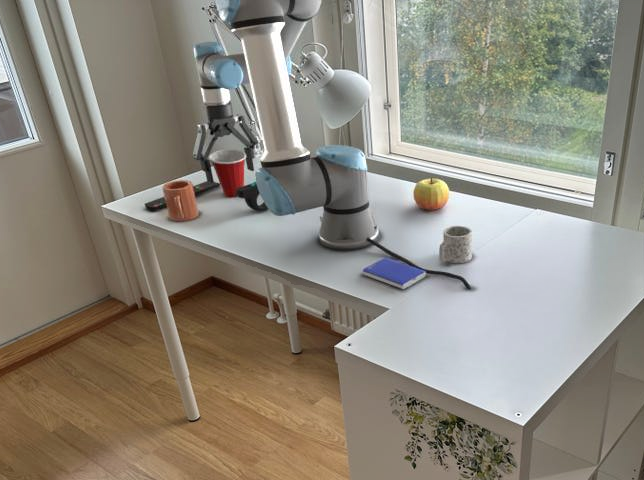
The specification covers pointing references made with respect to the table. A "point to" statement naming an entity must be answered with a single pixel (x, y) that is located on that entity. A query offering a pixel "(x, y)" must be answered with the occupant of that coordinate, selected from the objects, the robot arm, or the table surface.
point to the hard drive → (394, 273)
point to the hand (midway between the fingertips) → (231, 175)
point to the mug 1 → (180, 200)
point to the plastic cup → (229, 169)
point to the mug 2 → (456, 245)
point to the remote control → (197, 190)
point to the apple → (431, 194)
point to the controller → (251, 196)
